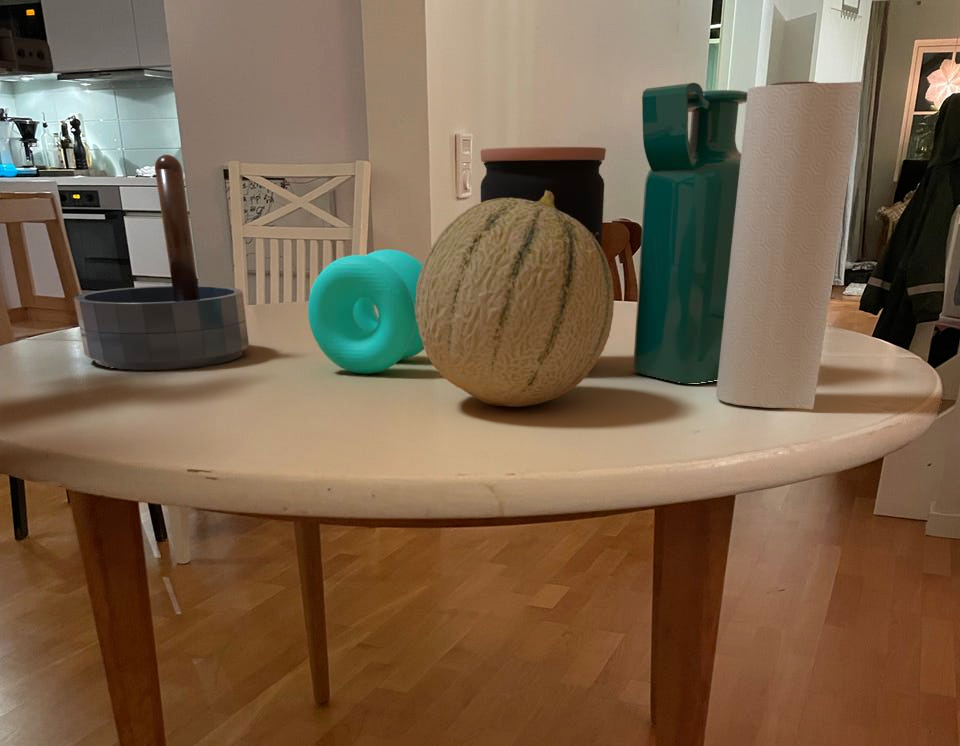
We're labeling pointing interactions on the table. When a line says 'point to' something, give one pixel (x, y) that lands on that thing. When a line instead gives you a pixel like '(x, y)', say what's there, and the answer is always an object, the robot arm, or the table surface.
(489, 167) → the coffee jar
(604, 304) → the cantaloupe
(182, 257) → the wooden masher
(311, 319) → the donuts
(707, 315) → the pitcher
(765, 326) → the paper towel roll
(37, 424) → the table surface
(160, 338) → the bowl
